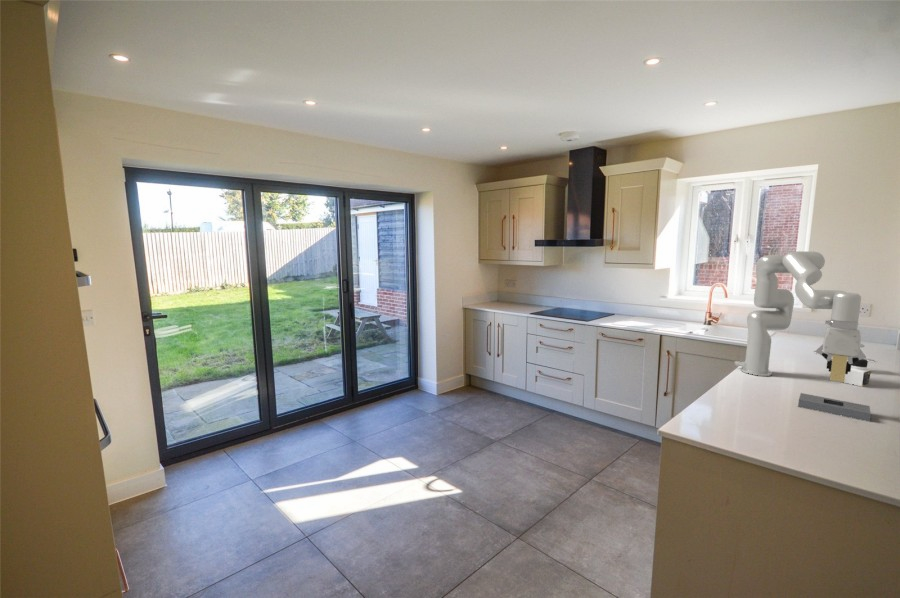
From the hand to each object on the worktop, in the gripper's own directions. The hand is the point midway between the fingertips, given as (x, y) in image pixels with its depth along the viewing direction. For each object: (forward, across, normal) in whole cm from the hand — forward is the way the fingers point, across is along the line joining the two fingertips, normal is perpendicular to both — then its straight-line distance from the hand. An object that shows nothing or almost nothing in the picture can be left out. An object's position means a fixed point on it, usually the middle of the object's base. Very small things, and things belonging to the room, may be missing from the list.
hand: (838, 371), depth 158 cm
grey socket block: (+15, 0, 0) cm, 15 cm away
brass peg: (+3, 0, 0) cm, 3 cm away
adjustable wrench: (+15, +2, +109) cm, 110 cm away
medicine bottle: (+15, +7, +50) cm, 53 cm away
